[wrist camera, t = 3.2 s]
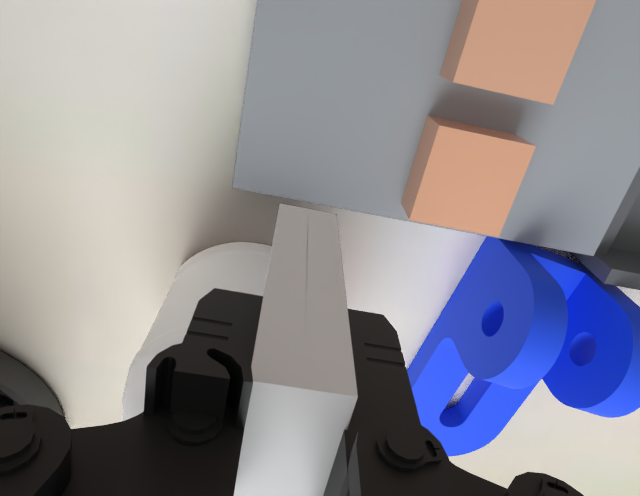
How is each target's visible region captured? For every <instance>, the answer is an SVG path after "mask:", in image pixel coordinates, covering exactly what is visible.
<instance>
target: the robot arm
mask: <svg viewBox="0 0 640 496" xmlns="http://www.w3.org/2000/svg"><path fill="white" fill-rule="evenodd" d="M0 496H583V494H581V493H580V492H578V491H577V490H575V489H574V488H572V487H571V486H570V485H568V484H567V483H565V482H564V481H561V480H559V479H557V478H554V477H552V476H549V475H547V474H543V473H534V472H527V473H524V474H521V475H518V476H516V477H515V478H514V480H513V481H512V483H511V484H510V486H509V487H508V489H506V488H504V487H501V486H499V485H497V484H494V483H492V482H490V481H487V480H485V479H483V478H480V477H478V476H475V475H473V474H471V473H469V472H467V471H465V470H463V469H461V468H459V467H457V466H455V465H454V464H452V463H451V462H450V461H449V458H448V456H447V454H446V452H445V450H444V448H443V446H442V444H441V442H440V441H439V440H438V439H437V438H436V437H435V436H434V435H433V434H432V433H431V432H430V431H429V430H428V429H427V428H425V427H423V426H422V425H421V423H420V419H419V415H418V411H417V407H416V403H415V400H414V396H413V392H412V388H411V384H410V381H409V377H408V373H407V369H406V367H405V361H404V358H403V354H402V352H401V346H400V342H399V339H398V335H397V331H396V330H395V329H394V328H393V326H392V325H391V324H390V323H389V321H388V320H387V319H386V318H385V316H384V315H381V314H375V313H369V312H363V311H358V310H352V309H348V308H347V300H346V291H345V283H344V274H343V266H342V257H341V248H340V240H339V231H338V223H337V214H333V213H328V212H323V211H317V210H312V209H307V208H302V207H296V206H291V205H286V204H281V203H280V204H279V210H278V215H277V221H276V226H275V232H274V237H273V242H272V248H271V253H270V259H269V264H268V270H267V275H266V280H265V286H264V291H263V296H259V295H253V294H247V293H241V292H235V291H230V290H224V289H218V288H214V289H213V290H211V291H210V292H209V293H208V294H206V295H205V296H204V297H202V298H201V299H200V300H199V301H198V304H197V306H196V309H195V311H194V314H193V317H192V320H191V322H190V324H189V327H188V329H187V333H186V334H185V337H184V339H183V342H182V343H180V344H176V345H172V346H170V347H168V348H167V349H165V350H163V351H161V352H159V353H158V354H156V356H155V357H154V358H153V359H152V360H151V362H150V363H149V364H148V365H147V368H146V383H145V399H144V411H143V412H142V413H140V414H139V415H137V416H135V417H132V418H130V419H127V420H125V421H122V422H118V423H113V424H108V425H102V426H94V427H86V428H78V429H70V427H69V425H68V423H67V421H66V420H65V418H64V416H63V413H62V410H61V408H60V405H59V403H58V401H57V400H56V398H55V396H54V395H53V393H52V392H51V391H50V389H49V388H48V387H47V386H46V384H45V383H44V382H43V381H42V380H41V379H40V378H39V377H38V376H37V375H36V374H35V373H33V372H32V371H31V370H30V369H28V368H27V367H26V366H24V365H23V364H22V363H20V362H19V361H17V360H16V359H14V358H12V357H10V356H9V355H7V354H5V353H3V352H1V351H0Z"/></svg>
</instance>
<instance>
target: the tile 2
mask: <svg viewBox="0 0 640 496" xmlns="http://www.w3.org/2000/svg"><path fill="white" fill-rule="evenodd" d="M595 2H596V0H462V3H461V6H460V9H459V12H458V16H457V19H456V22H455V26H454V29H453V32H452V36H451V39H450V42H449V45H448V49H447V52H446V55H445V59H444V62H443V65H442V69H441V72H440V75H439V76H441V77H443V78H445V79H447V80H449V81H451V82H454V83H458V84H463V85H467V86H472V87H476V88H480V89H485V90H489V91H494V92H498V93H503V94H507V95H512V96H516V97H520V98H525V99H529V100H534V101H538V102H543V103H547V104H551V105H553V104H554V102H555V99H556V97H557V95H558V92H559V90H560V87H561V85H562V82H563V80H564V78H565V75H566V73H567V70H568V68H569V66H570V63H571V61H572V58H573V56H574V53H575V51H576V49H577V46H578V44H579V41H580V39H581V36H582V34H583V32H584V29H585V27H586V24H587V22H588V19H589V17H590V15H591V12H592V10H593V7H594V5H595Z"/></svg>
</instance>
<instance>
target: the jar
mask: <svg viewBox="0 0 640 496" xmlns="http://www.w3.org/2000/svg"><path fill="white" fill-rule="evenodd" d="M271 248H272V246H269V245H265V244H260V243H253V242H232V243H225V244H220V245H216V246H213V247H210V248H208V249H205V250H203V251H201V252H199V253H197V254H195V255H194V256H192V257H191V258H189V259H188V260H187V261H186V262H184V263H183V264H182V265H181V266H180V268H179V270H178V272H177V274H176V276H175V281H174V283H173V285H172V287H171V289H170V291H169V293H168V295H167V297H166V299H165V301H164V303H163V305H162V307H161V309H160V311H159V313H158V315H157V317H156V319H155V321H154V323H153V325H152V327H151V329H150V331H149V333H148V335H147V337H146V339H145V342H144V344H143V346H142V348H141V350H140V351H139V352H138V353H137V354H136V356H135V358H134V360H133V362H132V364H131V366H130V368H129V372H128V376H127V381H126V385H125V389H124V394H123V421H125V420H127V419H130V418H132V417H135V416H137V415H139V414H140V413H142V412H143V411H144V399H145V383H146V368H147V365H148V364H149V363H150V362H151V360H152V359H153V358H154V357H155V356H156V354H158V353H159V352H161V351H163V350H165V349H167V348H168V347H170V346H172V345H176V344H180V343H182V342H183V339H184V337H185V334H186V333H187V329H188V327H189V324H190V322H191V320H192V317H193V314H194V311H195V309H196V306H197V304H198V301H199V300H200V299H201V298H202V297H204V296H205V295H206V294H208V293H209V292H210V291H211V290H213V289H214V288H218V289H224V290H230V291H235V292H241V293H247V294H253V295H259V296H263V291H264V286H265V280H266V275H267V270H268V264H269V259H270V253H271Z"/></svg>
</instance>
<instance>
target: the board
mask: <svg viewBox="0 0 640 496" xmlns="http://www.w3.org/2000/svg"><path fill="white" fill-rule="evenodd" d="M461 3H462V0H257V7H256V15H255V22H254V30H253V37H252V44H251V52H250V59H249V66H248V74H247V81H246V88H245V96H244V103H243V111H242V118H241V125H240V133H239V140H238V147H237V155H236V162H235V169H234V177H233V184H232V188H235V189H240V190H245V191H251V192H256V193H261V194H266V195H272V196H277V197H282V198H288V199H293V200H298V201H304V202H309V203H314V204H319V205H325V206H330V207H335V208H341V209H346V210H351V211H357V212H362V213H367V214H373V215H378V216H383V217H388V218H394V219H399V220H404V221H410V222H415V223H420V224H426V225H431V226H436V227H441V228H447V229H452V230H457V231H463V232H468V233H473V234H479V235H484V236H489V237H495V238H500V239H505V240H510V241H516V242H521V243H526V244H532V245H537V246H542V247H548V248H553V249H558V250H563V251H569V252H574V253H579V254H585V255H590V256H594V254H595V252H596V250H597V248H598V246H599V244H600V242H601V240H602V239H603V237H604V235H605V233H606V231H607V229H608V227H609V225H610V223H611V221H612V219H613V217H614V215H615V213H616V211H617V210H618V208H619V206H620V204H621V202H622V200H623V198H624V196H625V194H626V192H627V190H628V188H629V186H630V184H631V183H632V181H633V179H634V177H635V175H636V173H637V171H638V169H639V167H640V0H596V2H595V5H594V7H593V10H592V12H591V15H590V17H589V19H588V22H587V24H586V27H585V29H584V32H583V34H582V36H581V39H580V41H579V44H578V46H577V49H576V51H575V53H574V56H573V58H572V61H571V63H570V66H569V68H568V70H567V73H566V75H565V78H564V80H563V82H562V85H561V87H560V90H559V92H558V95H557V97H556V99H555V102H554V104H553V105H551V104H547V103H543V102H538V101H534V100H529V99H525V98H520V97H516V96H512V95H507V94H503V93H498V92H494V91H489V90H485V89H480V88H476V87H472V86H467V85H463V84H458V83H454V82H451V81H449V80H447V79H445V78H443V77H441V76H439V75H440V72H441V69H442V65H443V62H444V59H445V55H446V52H447V49H448V45H449V42H450V39H451V36H452V32H453V29H454V26H455V22H456V19H457V16H458V12H459V9H460V6H461ZM427 115H428V116H433V117H438V118H442V119H447V120H451V121H456V122H461V123H465V124H470V125H475V126H479V127H484V128H489V129H493V130H498V131H502V132H507V133H512V134H516V135H518V136H520V137H521V138H523V139H525V140H527V141H528V142H530V143H532V144H533V145H535V146H536V148H535V150H534V153H533V155H532V158H531V160H530V163H529V165H528V167H527V170H526V172H525V175H524V177H523V180H522V182H521V184H520V187H519V189H518V192H517V194H516V197H515V199H514V201H513V204H512V206H511V209H510V211H509V214H508V216H507V218H506V221H505V223H504V226H503V228H502V231H501V233H500V235H499V237H496V236H491V235H485V234H480V233H475V232H470V231H464V230H459V229H454V228H448V227H443V226H438V225H433V224H427V223H422V222H417V221H411V220H409V219H408V217H407V214H406V212H405V210H404V208H403V206H402V204H401V201H402V197H403V194H404V191H405V188H406V184H407V181H408V178H409V174H410V171H411V168H412V164H413V161H414V158H415V155H416V151H417V148H418V145H419V141H420V138H421V135H422V131H423V128H424V125H425V121H426V118H427Z"/></svg>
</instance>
